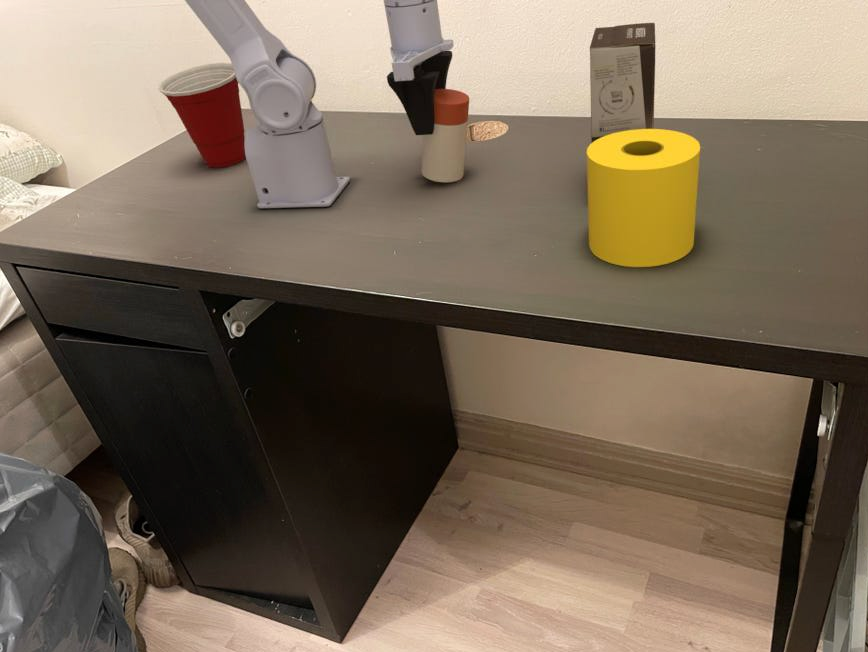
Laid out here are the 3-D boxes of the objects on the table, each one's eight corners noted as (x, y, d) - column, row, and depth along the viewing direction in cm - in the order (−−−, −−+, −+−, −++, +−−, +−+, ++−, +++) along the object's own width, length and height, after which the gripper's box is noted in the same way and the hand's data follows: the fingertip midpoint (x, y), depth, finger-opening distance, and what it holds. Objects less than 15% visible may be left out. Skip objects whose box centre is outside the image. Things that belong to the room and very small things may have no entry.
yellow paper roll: (691, 269, 67) (697, 170, 61) (581, 265, 70) (578, 169, 64) (696, 220, 75) (702, 128, 69) (597, 218, 77) (595, 129, 72)
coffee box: (651, 201, 79) (655, 42, 70) (591, 202, 81) (587, 47, 71) (652, 168, 86) (656, 20, 77) (597, 169, 88) (594, 24, 78)
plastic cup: (171, 174, 103) (138, 86, 96) (219, 145, 111) (192, 62, 104) (232, 177, 99) (203, 86, 92) (278, 148, 107) (254, 62, 100)
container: (467, 168, 93) (473, 92, 87) (459, 185, 89) (464, 106, 83) (426, 162, 93) (430, 86, 87) (416, 178, 89) (419, 100, 83)
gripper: (430, 13, 73) (449, 146, 81) (459, -16, 84) (473, 104, 92) (363, 19, 75) (388, 149, 82) (400, -10, 86) (419, 107, 94)
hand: (430, 125), depth 88 cm, fingers closed on container, 5 cm apart
